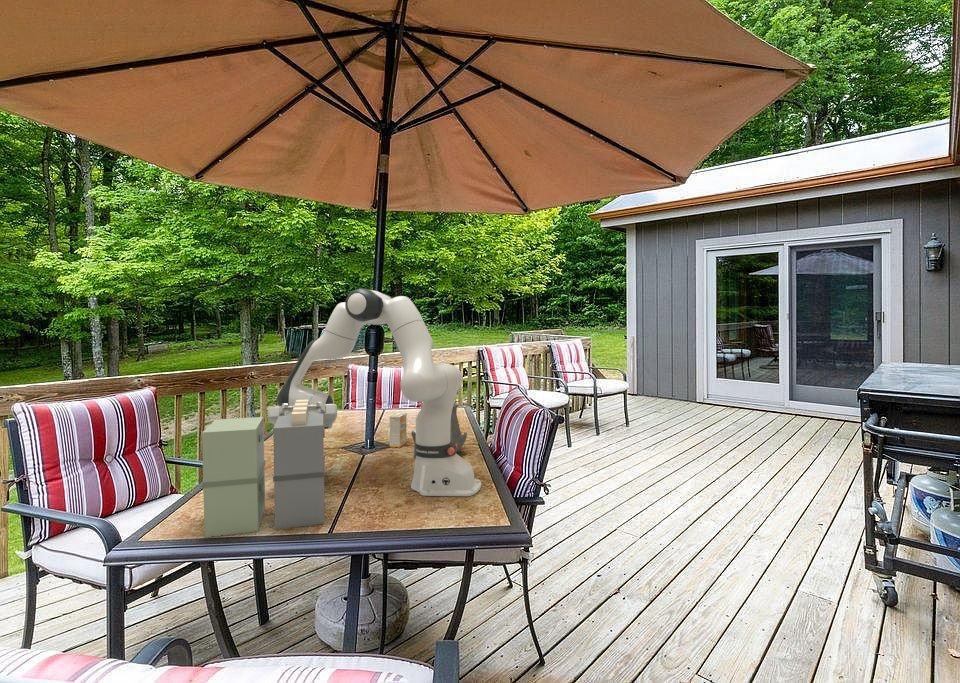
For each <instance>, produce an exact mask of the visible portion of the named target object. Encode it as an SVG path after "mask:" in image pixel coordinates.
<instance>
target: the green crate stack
mask: <svg viewBox="0 0 960 683" xmlns="http://www.w3.org/2000/svg"><path fill="white" fill-rule="evenodd" d="M264 422H265V421H264V416H258V417H256V416H255V417H254V416H253V417H237V418H219V419H215V420H214V421H213V422H211V423H210V424H209V425H208V426H207V427H206V428H205V429H204V430H203V431H201V439H202V440H201V445H202V447H201V449H202V452H201V453H202V483H201V488H202V489H203V490H202V491H203V520H204V521H203V523H204V524H203V526H204V527H203V528H204V531H203V532H204V538H211V536H214V537H219V536H220V537H221V535H223V536H229V535H230V536H231V535H237V534H238V535H239V534H246V533H256V532H255V531H257V532H259V530H258V529H260V526H261V522H262V520H263V516H264V514H263V513H265V510H266V479H265V477H266V476H265V474H266V473H265V466H266V460H265V429H264V426H265V425H264Z"/></svg>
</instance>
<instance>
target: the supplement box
mask: <svg viewBox="0 0 960 683" xmlns="http://www.w3.org/2000/svg"><path fill="white" fill-rule="evenodd" d="M405 444H407V413H404V412H396V413H394V414H392V415H390V416H389V447H390V448H395V447H398V449H399V448H401V447H403V446H404V445H405Z"/></svg>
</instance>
